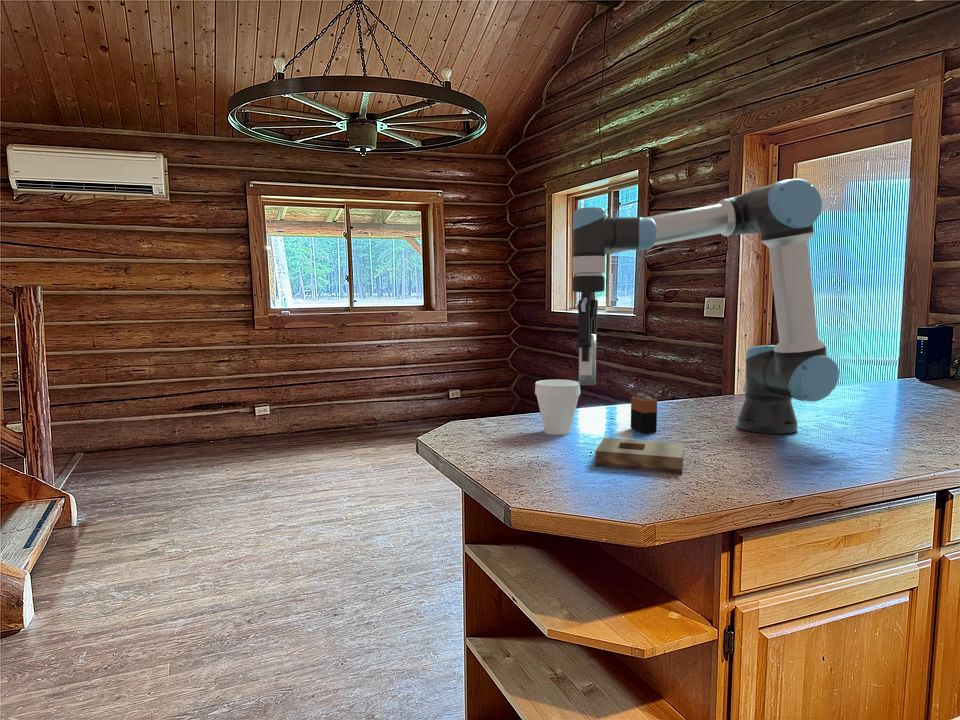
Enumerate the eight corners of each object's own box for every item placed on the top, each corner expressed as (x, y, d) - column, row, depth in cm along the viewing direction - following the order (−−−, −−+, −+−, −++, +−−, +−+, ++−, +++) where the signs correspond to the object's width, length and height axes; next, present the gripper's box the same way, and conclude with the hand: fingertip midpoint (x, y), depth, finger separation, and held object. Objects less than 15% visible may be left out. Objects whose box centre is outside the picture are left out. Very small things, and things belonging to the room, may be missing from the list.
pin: (597, 383, 147) (597, 333, 146) (594, 385, 144) (594, 335, 142) (580, 382, 149) (580, 333, 147) (577, 385, 145) (577, 334, 144)
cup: (553, 425, 174) (554, 378, 173) (589, 432, 166) (589, 382, 164) (525, 432, 166) (525, 382, 164) (561, 439, 157) (561, 387, 156)
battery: (643, 427, 171) (644, 392, 170) (657, 432, 164) (658, 396, 163) (629, 428, 170) (630, 393, 168) (643, 434, 163) (643, 397, 162)
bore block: (683, 458, 139) (683, 443, 139) (682, 474, 127) (682, 457, 126) (603, 451, 145) (604, 437, 145) (595, 466, 133) (595, 450, 132)
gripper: (579, 276, 153) (578, 368, 155) (565, 274, 137) (564, 377, 139) (609, 275, 150) (608, 369, 153) (598, 274, 134) (597, 379, 137)
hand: (587, 373), depth 146 cm, fingers closed on pin, 4 cm apart
